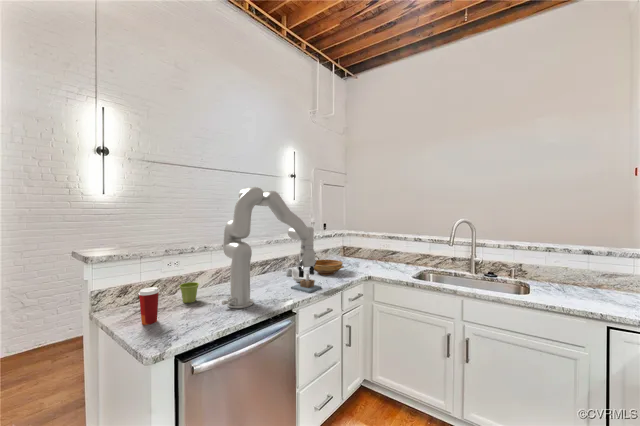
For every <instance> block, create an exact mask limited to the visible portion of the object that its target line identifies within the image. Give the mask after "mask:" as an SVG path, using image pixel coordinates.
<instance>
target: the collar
mask: <svg viewBox="0 0 640 426" xmlns="http://www.w3.org/2000/svg"><path fill="white" fill-rule="evenodd" d="M299 284H300V287H305V288H310V287H313V286H314V285H315V279H309V281H306V279H304V280H301V281H300V282H299Z"/></svg>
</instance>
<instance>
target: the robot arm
mask: <svg viewBox="0 0 640 426" xmlns="http://www.w3.org/2000/svg"><path fill="white" fill-rule="evenodd" d="M255 206H256V207H258V206H259V207H268V208H269V209H270V211H271V212H272V214H274V216H275V217H276V219H277V220H278V221H280V222H281V223H283V224H285V225H287V226H289V228H288V230H287V235H288V237H289V238H290V239H292V240H295V241H296V240H297V241H298V240H299V241H300V252H299V257H298V258H299V259H298V262H297V263H296V266H297V267H296V268H297V269H298V270H299V277H302V278H303V277H304V273H305V271H304V269H305V268H308V269H309V272H308V273H309V275H310V276H311V275H313V276H314V275H315V270H314V268H315V265H316V264H315V263H316V260H317V259H316V256H315V255H316V253H315V249H314V243H315V242H314V237H315V236H314V235H315V233H314V227H313V226H307V225H306V223H305V222H304V221H303V219H301V218H300V217H299V216H298V215H297V214H295V213H294V212H293V211H292V210H291V209H290V208H289V206H288V205H287V204H286V202H285V201H284V199H283V198H282V196H281V195H280V194H279V193H278V192H277V191H275V190H267V191H266V190H265V191H264V190H263V189H262V188H261V187H258V186H257V187H256V186H253V187H251V186H250V187H244V188H242V189H241V190H240V191H239V192H238V199H237V201H236V204H235V205H234V211H233V212H234V213H233V218H232V219H231V220H229V221H228V222H226V224H225V227H224V229H223V230H224V231H223V232H224V233H223V245H222V246H223V247H222V248H223V249H222V250H223V253H224V255H225V256H226V257H227V258H230V259H231V263H230V270H229V271H230V273H229V274H230V277H229V279H230V280H229V281H230V295H229V296H228V298H227V299H225V300H222V301H221V304H222V306H225V305H227V307H228V308H230V309H244V308H249V307H251V306H252V305H253V304H254V300H253V299H252V298H251V260H252V250H253V249H252V248H251V246H250V244H249V243H247V242H244V241H242V240H244V239H246V238H248V237H249V236H250V234H251V227H252V226H251V225H252V224H251V223H252V214H253V213H252V212H253V209H254V208H255Z"/></svg>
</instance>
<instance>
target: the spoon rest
mask: <svg viewBox="0 0 640 426" xmlns="http://www.w3.org/2000/svg"><path fill="white" fill-rule="evenodd" d="M306 273H307V272H304V277H303V278H302V277H299V270H298V268H297V267H295V266H294V267H289V268H288V269H287V270H286V274H285V276H286V277H292V279H293V280H294V281H295V282H296V283H300V281H301V280H304V279H306ZM310 278H311V274H309V279H310Z"/></svg>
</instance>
